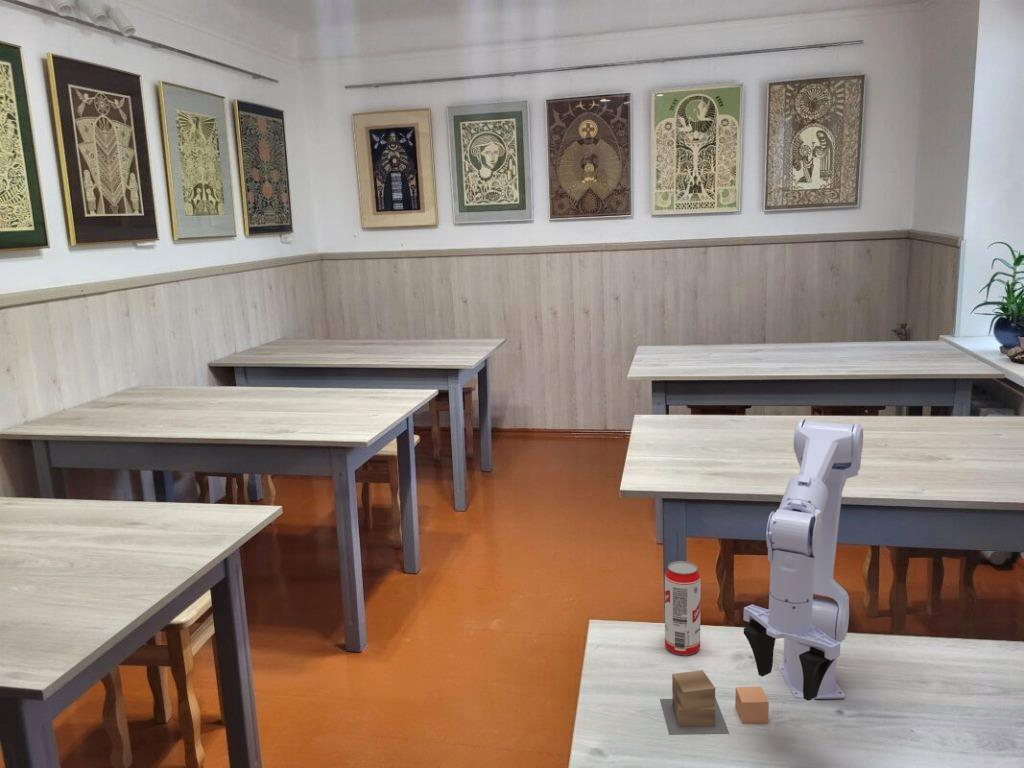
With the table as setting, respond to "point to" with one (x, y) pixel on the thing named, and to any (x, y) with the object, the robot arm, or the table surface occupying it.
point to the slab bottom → (693, 715)
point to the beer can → (682, 608)
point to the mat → (676, 730)
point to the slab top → (693, 689)
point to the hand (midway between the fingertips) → (786, 685)
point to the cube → (751, 705)
